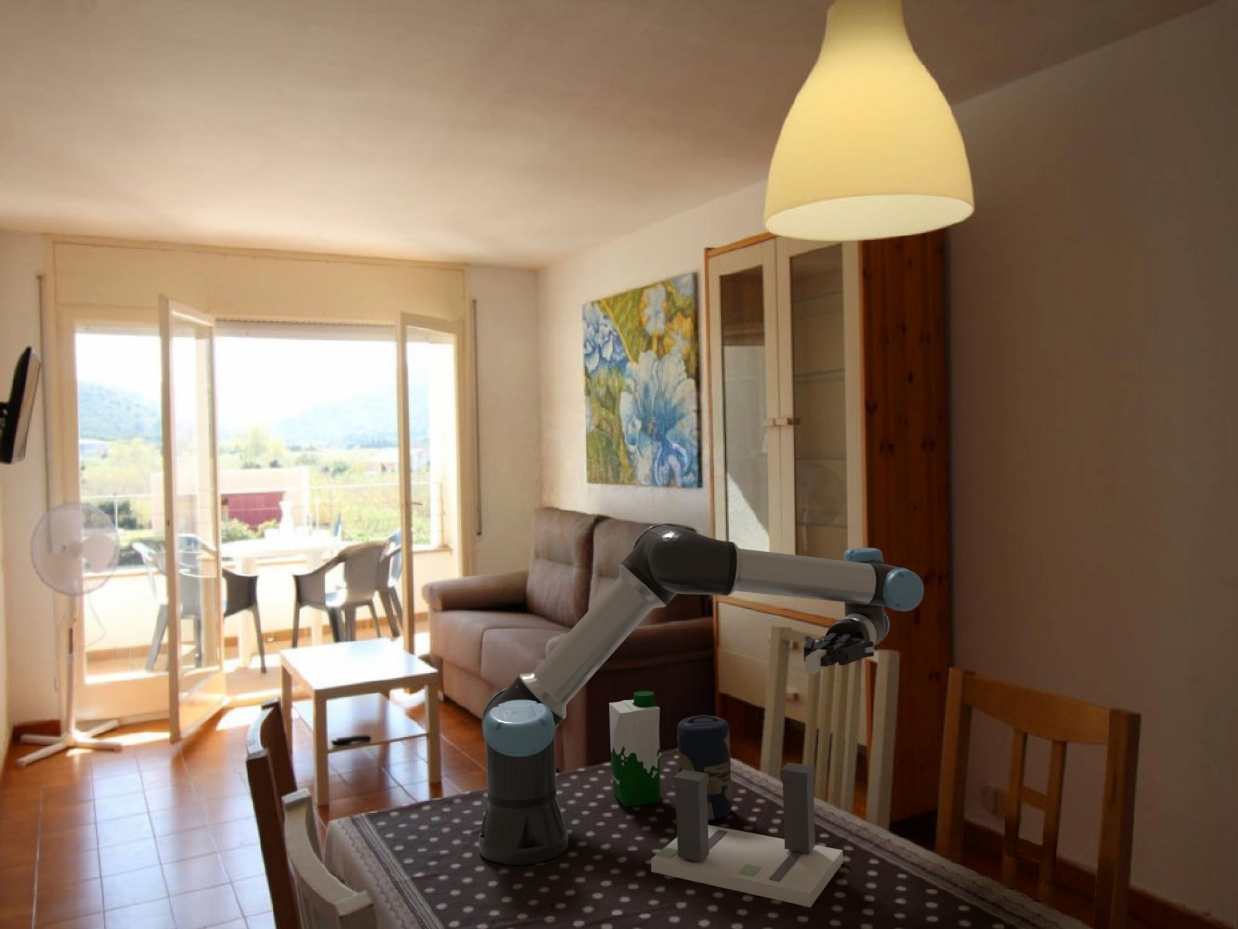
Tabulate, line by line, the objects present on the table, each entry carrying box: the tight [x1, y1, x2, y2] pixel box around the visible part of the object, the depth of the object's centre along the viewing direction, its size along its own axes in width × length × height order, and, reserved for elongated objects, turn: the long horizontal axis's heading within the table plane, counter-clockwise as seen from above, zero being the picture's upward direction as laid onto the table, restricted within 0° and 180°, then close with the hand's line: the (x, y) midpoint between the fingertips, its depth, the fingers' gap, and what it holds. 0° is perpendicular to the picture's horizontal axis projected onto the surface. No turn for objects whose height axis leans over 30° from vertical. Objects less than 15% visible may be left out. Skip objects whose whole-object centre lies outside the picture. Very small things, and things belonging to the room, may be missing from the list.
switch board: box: [650, 824, 844, 908], centre depth 150 cm, size 26×16×2 cm, turn 60°
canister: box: [676, 714, 733, 821], centre depth 172 cm, size 10×10×18 cm
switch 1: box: [672, 770, 709, 862], centre depth 149 cm, size 4×4×13 cm
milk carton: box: [608, 690, 662, 808], centre depth 180 cm, size 9×9×20 cm
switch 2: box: [779, 762, 816, 853], centre depth 151 cm, size 4×4×13 cm
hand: (809, 665), depth 156 cm, fingers closed
